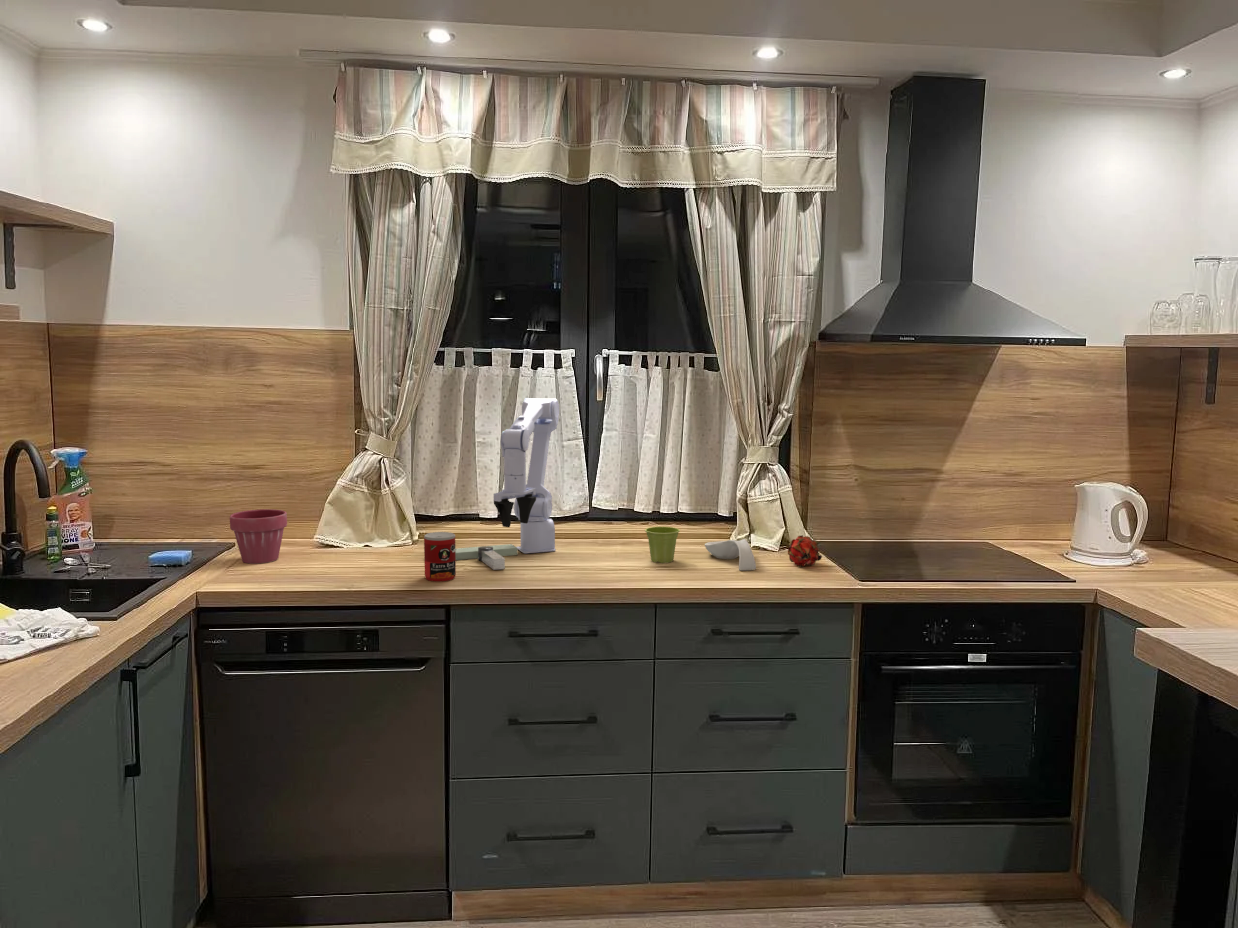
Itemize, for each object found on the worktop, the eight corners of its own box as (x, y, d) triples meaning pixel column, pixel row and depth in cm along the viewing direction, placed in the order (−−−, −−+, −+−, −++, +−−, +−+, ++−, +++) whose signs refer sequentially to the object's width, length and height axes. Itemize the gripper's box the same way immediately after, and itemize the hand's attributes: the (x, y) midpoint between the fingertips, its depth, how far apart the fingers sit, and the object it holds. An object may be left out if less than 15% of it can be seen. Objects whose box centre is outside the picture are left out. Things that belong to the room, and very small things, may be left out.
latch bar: (476, 558, 253) (476, 546, 253) (490, 557, 255) (490, 545, 255) (491, 569, 240) (491, 557, 240) (506, 568, 242) (506, 556, 241)
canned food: (429, 583, 227) (429, 539, 226) (420, 576, 234) (420, 533, 233) (460, 579, 230) (459, 536, 229) (450, 573, 237) (449, 530, 236)
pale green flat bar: (511, 550, 264) (511, 544, 264) (517, 554, 259) (517, 547, 259) (427, 558, 254) (427, 550, 254) (431, 562, 249) (431, 554, 249)
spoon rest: (698, 553, 264) (699, 528, 263) (737, 551, 267) (738, 527, 266) (727, 572, 241) (728, 545, 240) (769, 570, 244) (770, 543, 243)
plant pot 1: (229, 567, 241) (227, 519, 240) (233, 556, 255) (231, 510, 253) (288, 564, 246) (286, 516, 244) (288, 553, 259) (287, 507, 258)
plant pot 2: (653, 566, 247) (653, 533, 246) (639, 558, 256) (639, 527, 255) (685, 563, 250) (685, 531, 249) (670, 556, 259) (670, 525, 258)
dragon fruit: (804, 565, 256) (807, 581, 245) (779, 547, 256) (781, 563, 244) (823, 542, 254) (828, 558, 242) (799, 524, 253) (802, 539, 242)
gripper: (521, 470, 254) (522, 519, 256) (484, 475, 243) (485, 527, 244) (541, 472, 250) (541, 522, 252) (504, 478, 239) (505, 530, 240)
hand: (515, 524), depth 248 cm, fingers open, 6 cm apart
